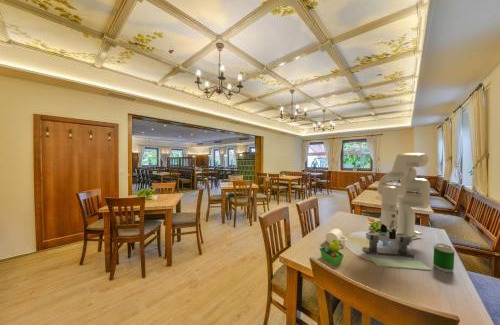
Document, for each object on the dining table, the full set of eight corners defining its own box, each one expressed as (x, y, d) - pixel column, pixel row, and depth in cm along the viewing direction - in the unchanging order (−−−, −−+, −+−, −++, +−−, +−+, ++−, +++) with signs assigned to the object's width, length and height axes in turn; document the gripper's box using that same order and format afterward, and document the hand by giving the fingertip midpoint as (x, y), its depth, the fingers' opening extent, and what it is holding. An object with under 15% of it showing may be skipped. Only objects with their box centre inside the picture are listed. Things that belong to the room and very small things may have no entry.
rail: (407, 240, 117) (407, 235, 117) (410, 242, 114) (411, 237, 114) (366, 237, 121) (366, 232, 121) (368, 239, 118) (368, 234, 118)
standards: (407, 252, 119) (407, 234, 119) (414, 257, 113) (415, 238, 112) (362, 248, 123) (363, 231, 123) (367, 253, 117) (367, 235, 116)
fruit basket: (318, 256, 114) (318, 237, 113) (330, 254, 117) (331, 235, 116) (333, 267, 103) (333, 246, 102) (346, 264, 106) (346, 243, 105)
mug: (325, 242, 131) (325, 231, 131) (331, 238, 139) (331, 227, 138) (344, 248, 123) (344, 236, 123) (349, 243, 131) (349, 231, 130)
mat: (420, 262, 108) (420, 261, 108) (431, 270, 100) (431, 269, 100) (370, 258, 112) (370, 257, 112) (377, 266, 104) (377, 265, 104)
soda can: (455, 274, 97) (457, 251, 96) (435, 270, 101) (436, 247, 100) (450, 267, 103) (451, 245, 103) (431, 263, 107) (432, 241, 107)
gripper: (405, 211, 108) (403, 242, 108) (388, 203, 125) (386, 230, 125) (389, 210, 109) (388, 241, 109) (375, 203, 126) (374, 229, 126)
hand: (387, 235), depth 117 cm, fingers open, 9 cm apart
